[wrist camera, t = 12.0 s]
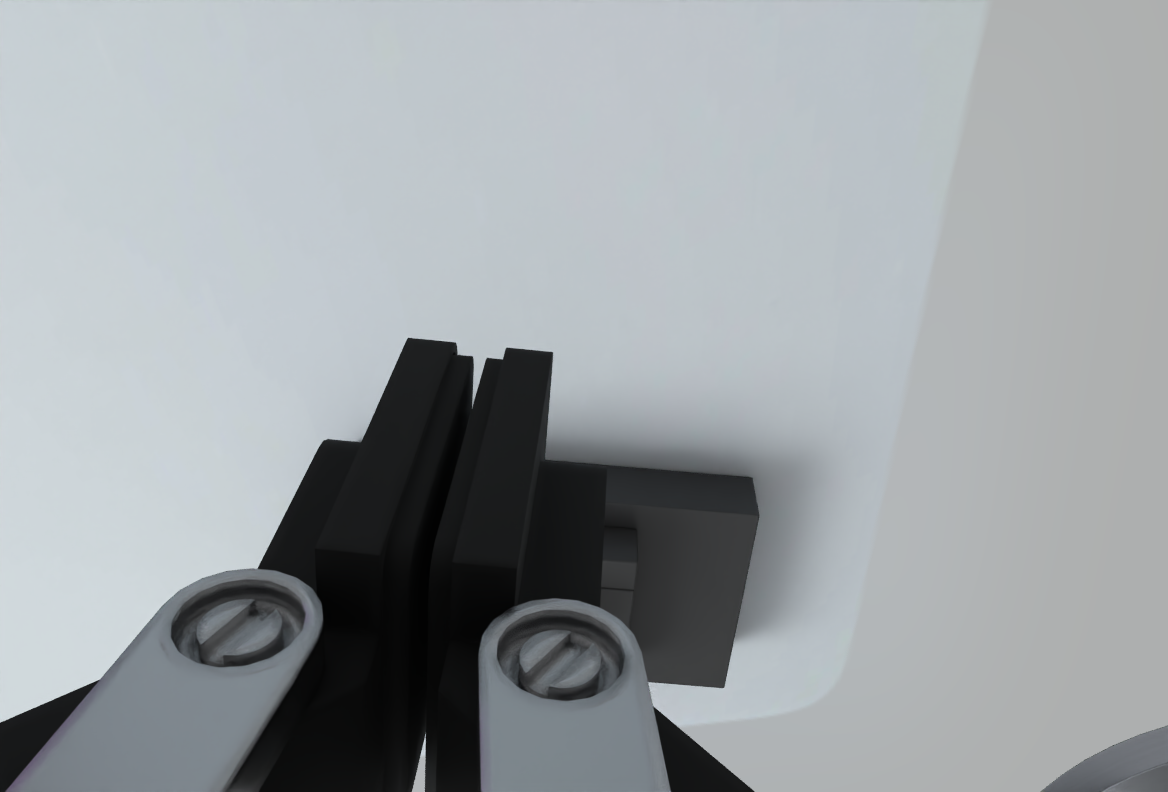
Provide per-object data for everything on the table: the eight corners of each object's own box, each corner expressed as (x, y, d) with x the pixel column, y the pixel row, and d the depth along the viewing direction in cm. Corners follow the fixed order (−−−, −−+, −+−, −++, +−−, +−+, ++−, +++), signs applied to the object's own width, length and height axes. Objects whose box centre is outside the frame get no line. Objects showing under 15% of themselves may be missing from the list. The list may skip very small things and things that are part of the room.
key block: (752, 477, 37) (766, 549, 33) (719, 646, 41) (728, 726, 37) (352, 443, 36) (323, 512, 33) (358, 616, 40) (334, 694, 37)
